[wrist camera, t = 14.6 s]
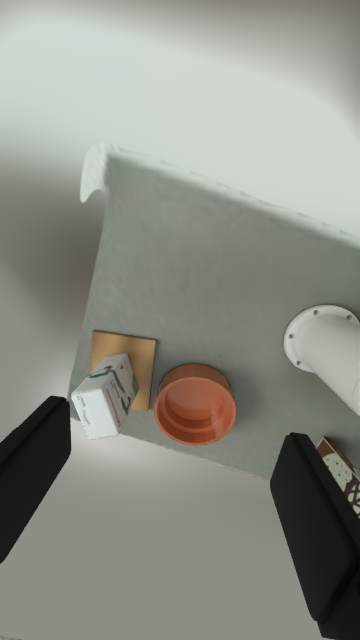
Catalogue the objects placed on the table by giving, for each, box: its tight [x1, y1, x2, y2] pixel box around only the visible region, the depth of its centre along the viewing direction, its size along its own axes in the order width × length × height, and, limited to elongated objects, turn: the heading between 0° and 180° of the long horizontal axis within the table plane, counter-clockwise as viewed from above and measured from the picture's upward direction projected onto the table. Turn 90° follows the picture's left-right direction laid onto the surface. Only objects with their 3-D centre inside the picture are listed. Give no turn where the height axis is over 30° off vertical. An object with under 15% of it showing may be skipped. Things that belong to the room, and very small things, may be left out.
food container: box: [316, 437, 360, 518], centre depth 41 cm, size 12×6×10 cm, turn 163°
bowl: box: [154, 364, 237, 446], centre depth 41 cm, size 15×15×5 cm
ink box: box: [72, 353, 139, 440], centre depth 37 cm, size 9×5×12 cm, turn 13°
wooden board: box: [92, 330, 156, 412], centre depth 43 cm, size 12×16×1 cm
